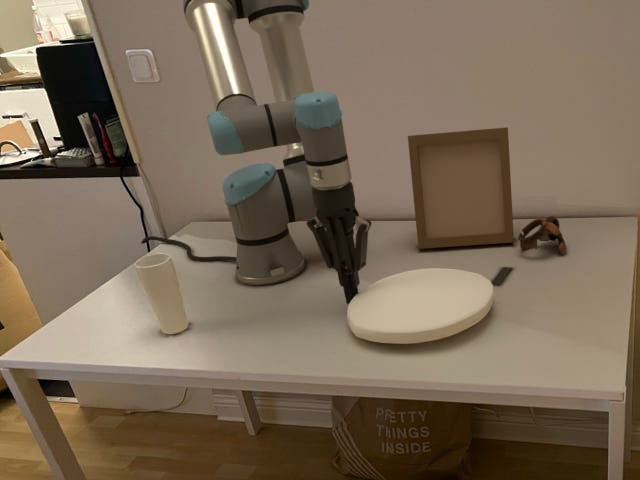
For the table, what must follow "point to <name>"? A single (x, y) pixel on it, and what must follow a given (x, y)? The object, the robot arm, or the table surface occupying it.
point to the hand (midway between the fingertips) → (352, 300)
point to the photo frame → (462, 188)
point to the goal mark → (501, 276)
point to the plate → (420, 305)
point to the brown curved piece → (542, 233)
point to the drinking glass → (162, 291)
